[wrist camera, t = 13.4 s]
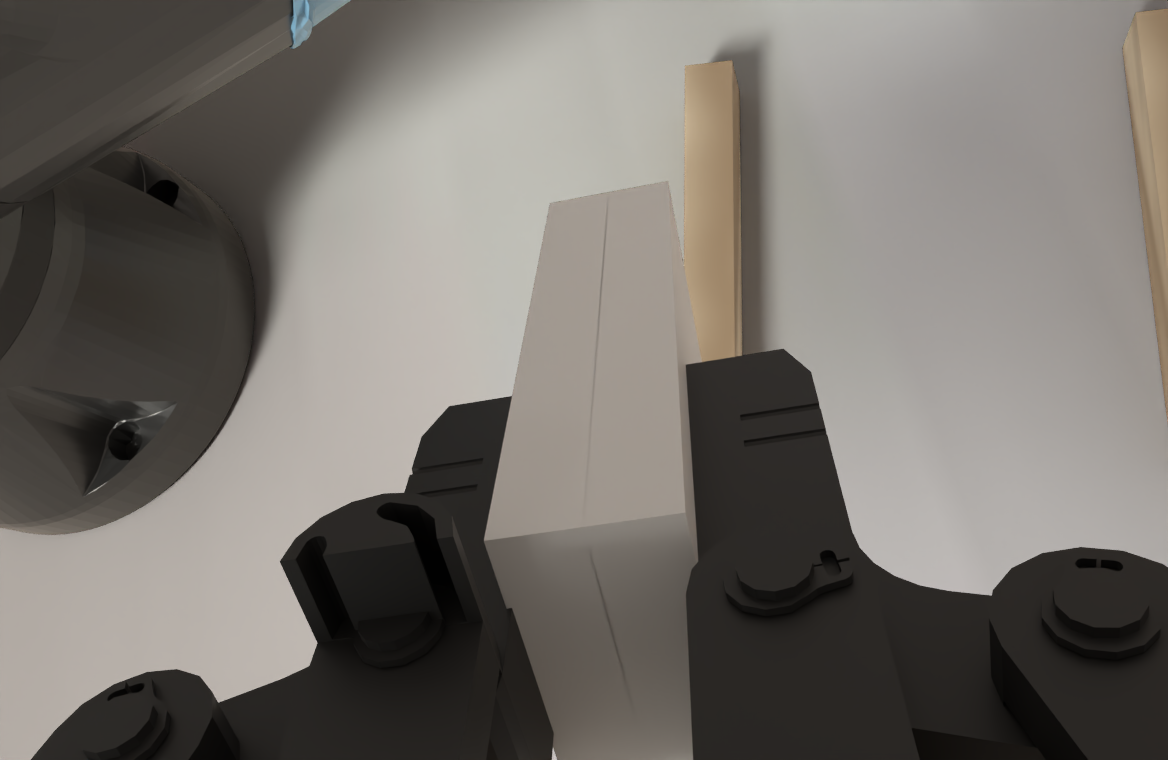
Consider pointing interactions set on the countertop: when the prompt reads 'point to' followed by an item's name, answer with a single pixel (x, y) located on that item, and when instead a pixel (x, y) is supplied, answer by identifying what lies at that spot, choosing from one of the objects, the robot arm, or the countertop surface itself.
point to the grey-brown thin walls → (713, 192)
